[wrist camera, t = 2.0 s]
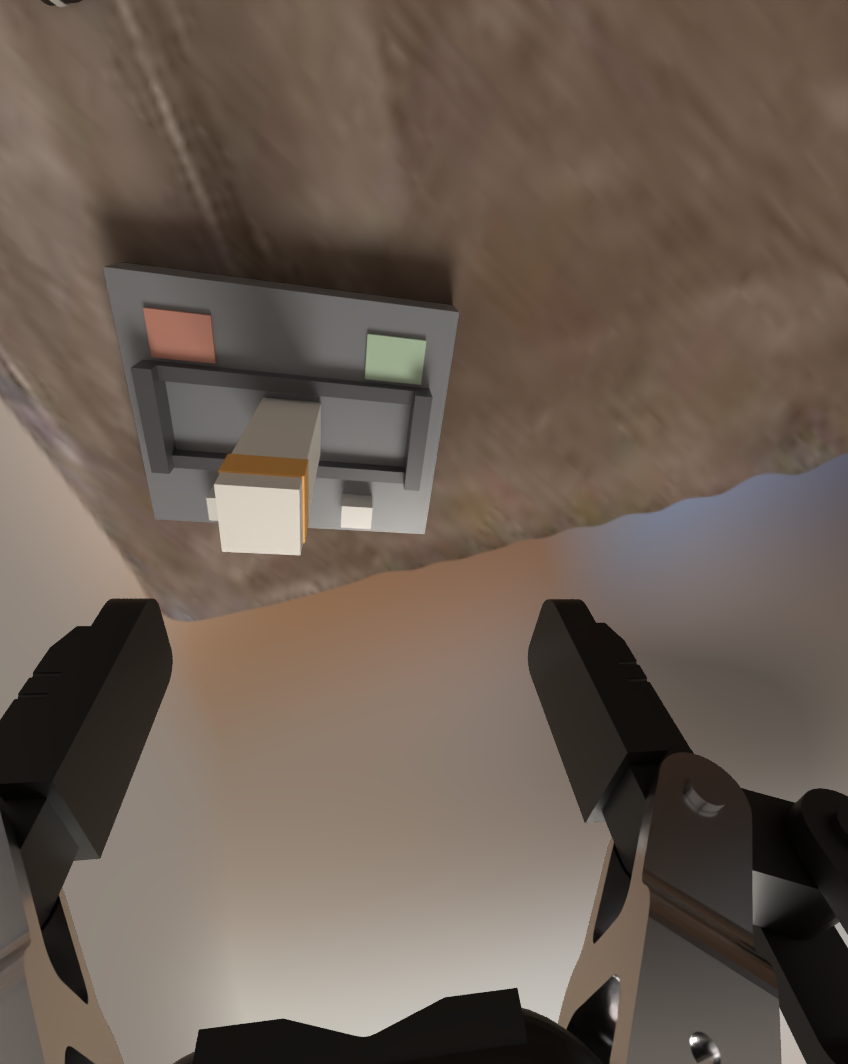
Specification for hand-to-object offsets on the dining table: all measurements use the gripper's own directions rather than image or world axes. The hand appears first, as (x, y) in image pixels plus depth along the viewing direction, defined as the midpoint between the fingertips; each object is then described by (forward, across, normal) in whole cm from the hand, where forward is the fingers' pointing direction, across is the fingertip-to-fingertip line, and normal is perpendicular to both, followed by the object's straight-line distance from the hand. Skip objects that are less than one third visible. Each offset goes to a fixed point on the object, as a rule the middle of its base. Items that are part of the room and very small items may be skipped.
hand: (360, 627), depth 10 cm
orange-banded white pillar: (+27, +5, +7) cm, 28 cm away
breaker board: (+30, +4, +7) cm, 31 cm away
